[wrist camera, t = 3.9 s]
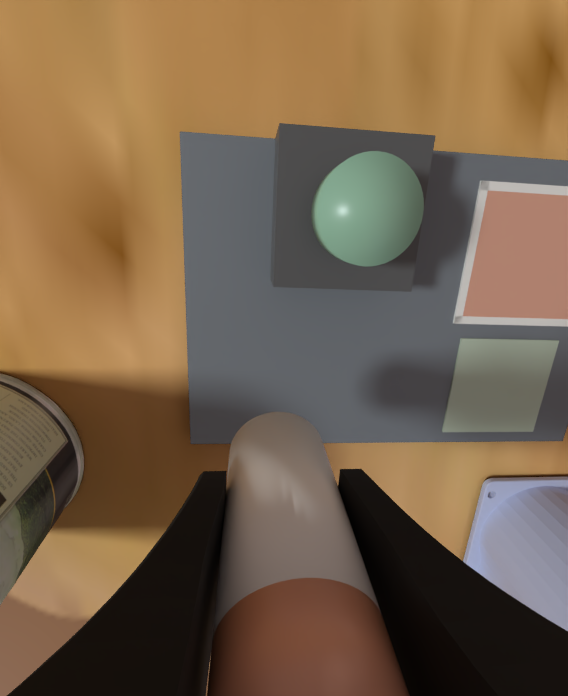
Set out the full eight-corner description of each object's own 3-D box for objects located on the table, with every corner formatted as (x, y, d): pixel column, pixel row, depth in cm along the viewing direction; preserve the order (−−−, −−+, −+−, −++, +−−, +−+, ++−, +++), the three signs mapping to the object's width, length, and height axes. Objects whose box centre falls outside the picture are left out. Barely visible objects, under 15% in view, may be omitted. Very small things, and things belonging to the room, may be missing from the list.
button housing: (390, 284, 18) (411, 291, 16) (270, 279, 18) (273, 287, 15) (409, 148, 16) (435, 135, 14) (275, 138, 16) (279, 123, 13)
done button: (399, 264, 14) (414, 268, 13) (308, 260, 14) (314, 264, 13) (414, 162, 13) (432, 154, 12) (314, 155, 13) (322, 147, 11)
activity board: (552, 434, 23) (564, 441, 22) (192, 436, 21) (190, 445, 20) (633, 169, 18) (652, 166, 17) (183, 136, 16) (179, 130, 15)
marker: (319, 492, 13) (417, 856, 5) (229, 494, 13) (199, 884, 5) (327, 411, 12) (457, 718, 4) (229, 411, 12) (192, 741, 4)
